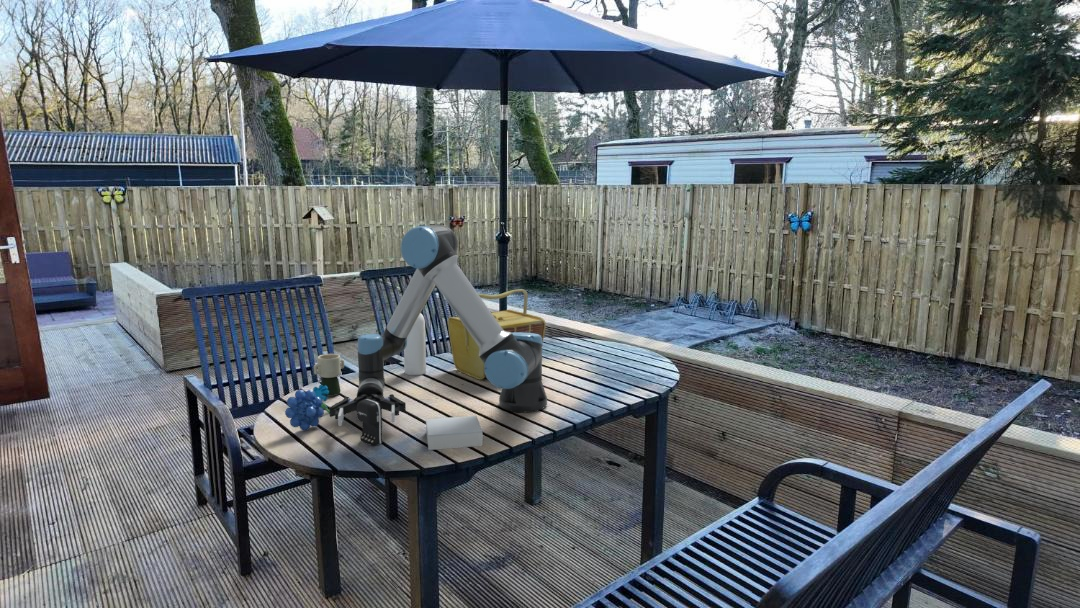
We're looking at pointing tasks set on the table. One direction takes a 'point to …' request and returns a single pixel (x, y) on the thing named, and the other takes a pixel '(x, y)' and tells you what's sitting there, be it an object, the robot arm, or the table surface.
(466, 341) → the picnic basket
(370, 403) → the battery charger
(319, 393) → the blue green lumpy piece
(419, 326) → the bottle
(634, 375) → the table surface
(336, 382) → the character mug
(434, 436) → the stand
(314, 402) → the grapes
